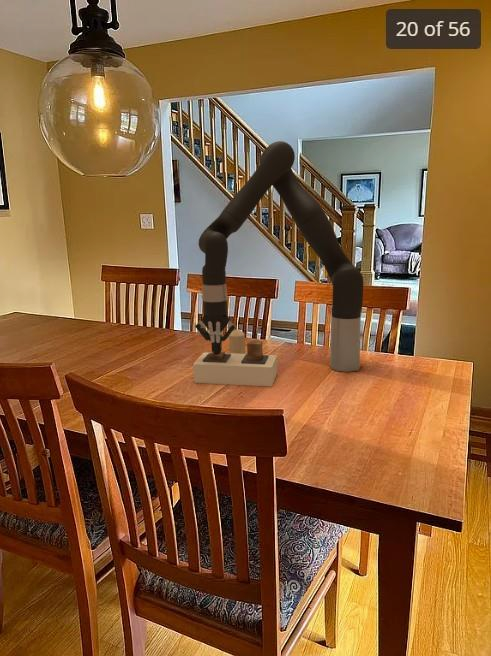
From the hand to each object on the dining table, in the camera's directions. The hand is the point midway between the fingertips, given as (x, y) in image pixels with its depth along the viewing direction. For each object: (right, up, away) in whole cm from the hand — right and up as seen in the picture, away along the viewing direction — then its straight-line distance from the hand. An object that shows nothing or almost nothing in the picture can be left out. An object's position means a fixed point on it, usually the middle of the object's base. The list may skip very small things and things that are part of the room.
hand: (216, 353), depth 153 cm
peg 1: (0, -7, +2) cm, 7 cm away
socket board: (+6, -8, +1) cm, 10 cm away
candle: (+6, -3, +21) cm, 22 cm away
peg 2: (+12, -3, -2) cm, 12 cm away
